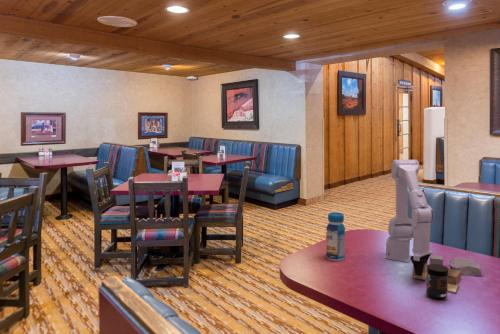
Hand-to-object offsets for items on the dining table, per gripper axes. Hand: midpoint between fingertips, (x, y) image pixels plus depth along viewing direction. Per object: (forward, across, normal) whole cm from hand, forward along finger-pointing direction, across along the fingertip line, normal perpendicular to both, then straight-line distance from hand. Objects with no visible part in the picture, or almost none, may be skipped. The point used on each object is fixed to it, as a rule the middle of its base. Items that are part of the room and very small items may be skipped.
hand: (420, 272), depth 147 cm
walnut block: (+3, +5, -9) cm, 11 cm away
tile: (+2, -3, -10) cm, 11 cm away
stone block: (+3, +19, -12) cm, 23 cm away
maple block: (+2, 0, 0) cm, 2 cm away
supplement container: (+2, -12, -8) cm, 15 cm away
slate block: (+2, +14, -3) cm, 14 cm away
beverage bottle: (+3, +3, +36) cm, 36 cm away
